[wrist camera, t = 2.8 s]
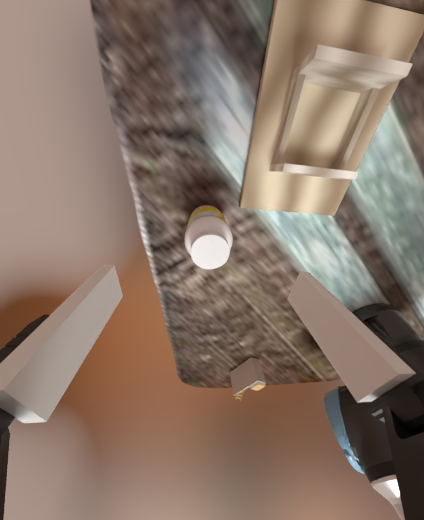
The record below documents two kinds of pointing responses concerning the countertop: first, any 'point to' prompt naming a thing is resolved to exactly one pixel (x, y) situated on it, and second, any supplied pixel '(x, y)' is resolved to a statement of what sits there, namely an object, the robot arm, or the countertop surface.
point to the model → (247, 377)
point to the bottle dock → (323, 99)
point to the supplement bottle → (208, 237)
